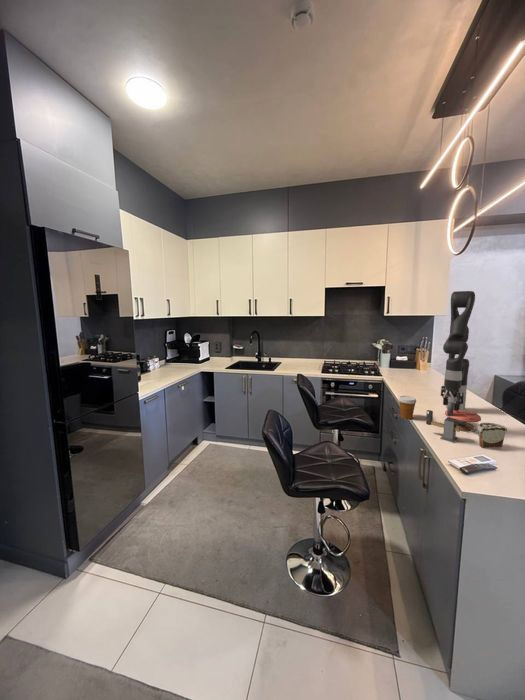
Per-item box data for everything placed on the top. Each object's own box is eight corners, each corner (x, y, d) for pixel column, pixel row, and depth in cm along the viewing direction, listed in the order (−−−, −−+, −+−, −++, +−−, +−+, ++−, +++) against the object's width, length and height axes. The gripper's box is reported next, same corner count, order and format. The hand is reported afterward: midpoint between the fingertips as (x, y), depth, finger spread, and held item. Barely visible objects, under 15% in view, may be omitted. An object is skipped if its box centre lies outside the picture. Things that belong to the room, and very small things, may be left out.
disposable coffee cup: (394, 415, 174) (394, 396, 173) (406, 413, 178) (407, 394, 176) (406, 421, 166) (407, 401, 164) (419, 418, 169) (420, 399, 167)
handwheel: (465, 417, 164) (467, 397, 163) (488, 429, 149) (490, 406, 147) (437, 418, 164) (438, 398, 162) (457, 430, 148) (459, 407, 146)
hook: (425, 423, 149) (425, 411, 148) (426, 422, 151) (427, 409, 150) (458, 432, 138) (459, 418, 137) (460, 430, 140) (461, 417, 139)
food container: (494, 441, 140) (496, 421, 138) (505, 447, 134) (507, 426, 132) (469, 442, 139) (471, 422, 138) (479, 448, 133) (481, 427, 132)
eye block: (440, 438, 143) (441, 419, 142) (444, 434, 147) (445, 416, 146) (454, 442, 139) (455, 423, 137) (458, 438, 143) (459, 419, 142)
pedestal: (464, 422, 162) (464, 420, 162) (479, 430, 151) (479, 428, 151) (445, 423, 162) (445, 420, 162) (459, 431, 151) (459, 428, 151)
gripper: (437, 375, 159) (435, 403, 161) (455, 381, 145) (453, 412, 147) (450, 375, 159) (448, 403, 162) (469, 381, 145) (467, 412, 147)
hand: (450, 407), depth 154 cm, fingers open, 8 cm apart
